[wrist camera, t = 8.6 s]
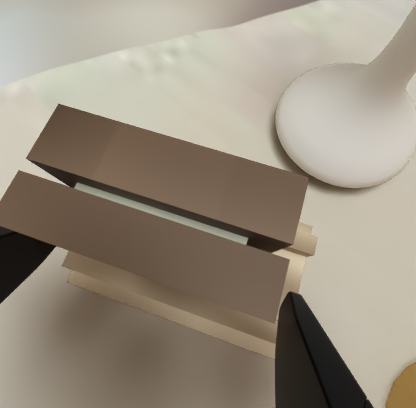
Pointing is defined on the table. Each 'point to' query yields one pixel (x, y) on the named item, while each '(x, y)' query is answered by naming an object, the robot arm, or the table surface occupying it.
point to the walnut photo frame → (160, 209)
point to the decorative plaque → (404, 390)
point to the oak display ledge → (193, 297)
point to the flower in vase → (353, 116)
